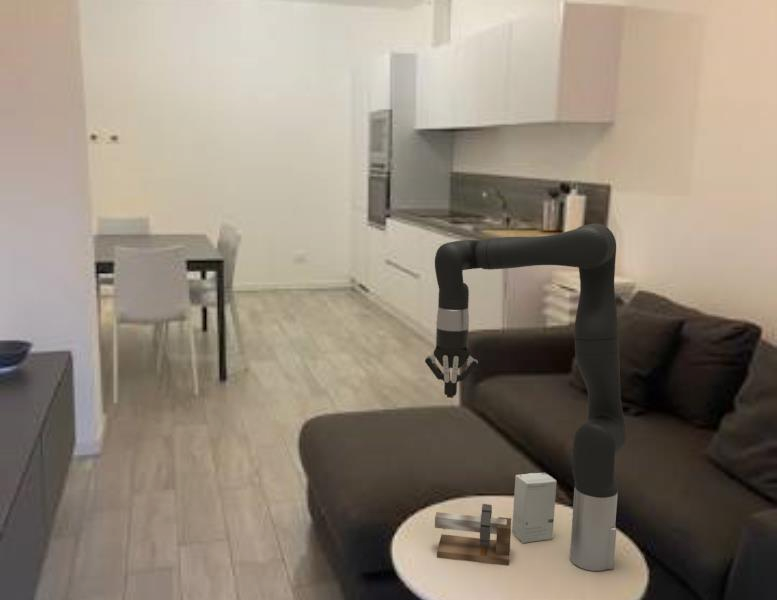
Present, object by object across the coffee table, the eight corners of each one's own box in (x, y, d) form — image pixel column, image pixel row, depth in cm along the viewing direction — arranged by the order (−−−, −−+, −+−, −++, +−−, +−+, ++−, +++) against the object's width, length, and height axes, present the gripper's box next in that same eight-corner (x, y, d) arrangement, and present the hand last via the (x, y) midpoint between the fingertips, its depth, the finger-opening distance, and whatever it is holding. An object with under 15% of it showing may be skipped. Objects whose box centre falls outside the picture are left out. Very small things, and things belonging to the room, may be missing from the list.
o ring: (490, 534, 179) (492, 499, 177) (488, 552, 171) (489, 516, 169) (481, 533, 179) (483, 498, 178) (479, 551, 171) (480, 515, 169)
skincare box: (522, 544, 180) (525, 484, 177) (510, 532, 186) (513, 474, 183) (554, 539, 183) (557, 480, 180) (541, 527, 188) (545, 470, 185)
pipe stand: (510, 547, 178) (511, 513, 177) (508, 565, 171) (510, 530, 169) (436, 539, 181) (437, 506, 180) (432, 556, 174) (433, 522, 172)
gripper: (482, 324, 184) (479, 394, 187) (427, 321, 186) (425, 390, 190) (479, 331, 177) (476, 403, 180) (422, 327, 179) (420, 399, 182)
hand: (450, 396), depth 185 cm, fingers closed
